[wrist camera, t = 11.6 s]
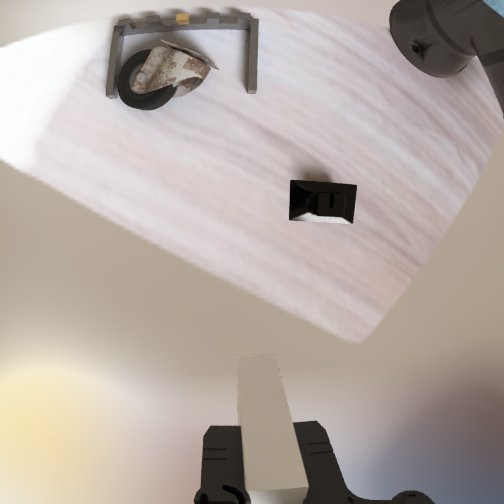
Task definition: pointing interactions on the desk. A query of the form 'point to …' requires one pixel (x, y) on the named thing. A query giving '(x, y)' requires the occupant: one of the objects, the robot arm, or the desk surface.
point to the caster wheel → (161, 75)
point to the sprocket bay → (181, 23)
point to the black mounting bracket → (322, 201)
